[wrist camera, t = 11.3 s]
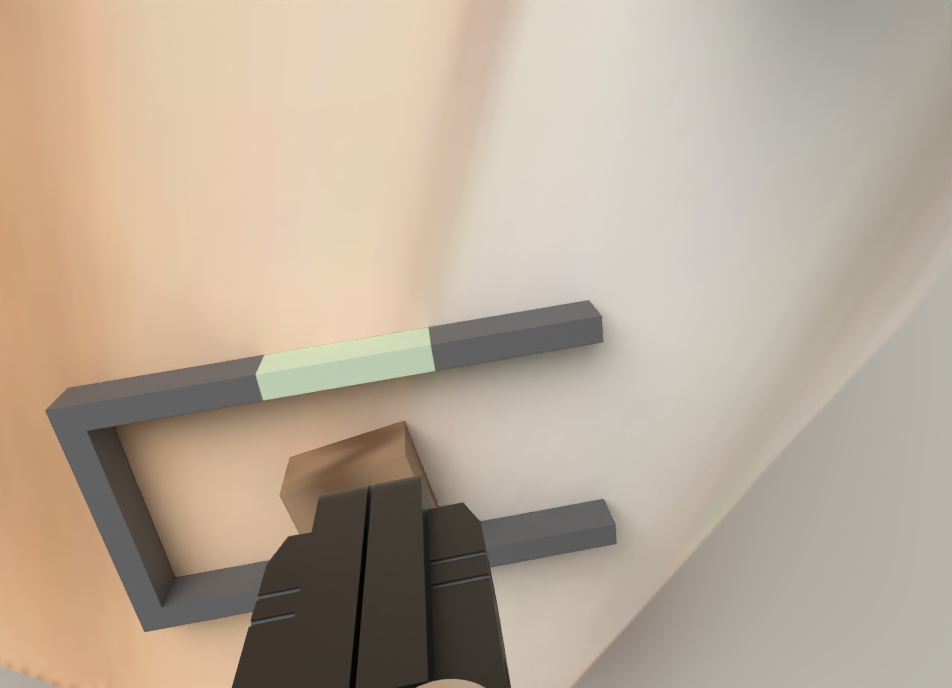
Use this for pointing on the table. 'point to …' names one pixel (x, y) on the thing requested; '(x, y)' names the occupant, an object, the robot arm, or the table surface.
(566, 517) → the box
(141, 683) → the table surface
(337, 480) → the walnut block
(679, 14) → the table surface
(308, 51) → the table surface
